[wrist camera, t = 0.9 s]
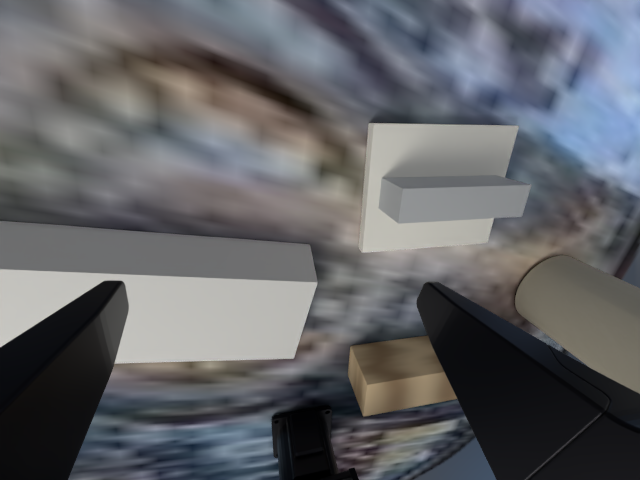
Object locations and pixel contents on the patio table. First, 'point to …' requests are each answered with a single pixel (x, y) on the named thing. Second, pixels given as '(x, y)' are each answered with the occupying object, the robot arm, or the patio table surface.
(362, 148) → the patio table surface
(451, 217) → the fulcrum stand
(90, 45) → the patio table surface
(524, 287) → the travel mug
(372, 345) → the oak bar
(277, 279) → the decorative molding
